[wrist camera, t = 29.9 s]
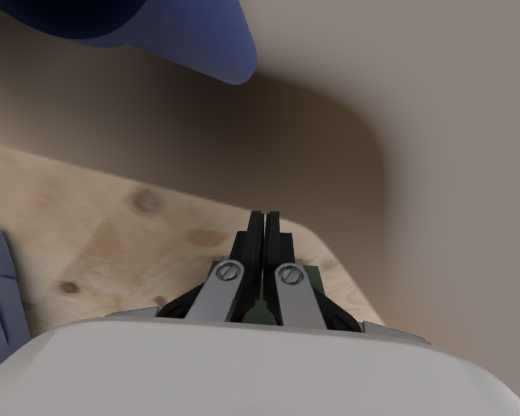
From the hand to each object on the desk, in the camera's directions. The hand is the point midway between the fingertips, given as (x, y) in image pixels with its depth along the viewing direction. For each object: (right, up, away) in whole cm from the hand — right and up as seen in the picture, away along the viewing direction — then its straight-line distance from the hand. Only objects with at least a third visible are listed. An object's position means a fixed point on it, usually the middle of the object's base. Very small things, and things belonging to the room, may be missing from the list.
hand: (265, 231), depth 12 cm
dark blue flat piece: (-43, -10, +15) cm, 46 cm away
